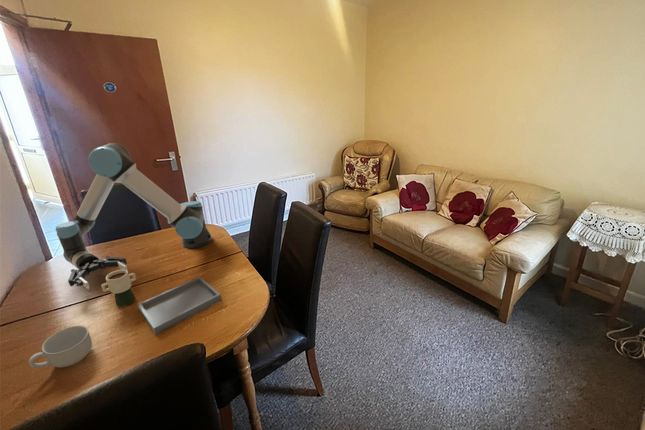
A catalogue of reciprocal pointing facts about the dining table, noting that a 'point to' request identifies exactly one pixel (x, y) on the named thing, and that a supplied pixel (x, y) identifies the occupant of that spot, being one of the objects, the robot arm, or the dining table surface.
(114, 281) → the character mug
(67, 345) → the teacup
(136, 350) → the dining table surface
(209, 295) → the tray
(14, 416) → the dining table surface
